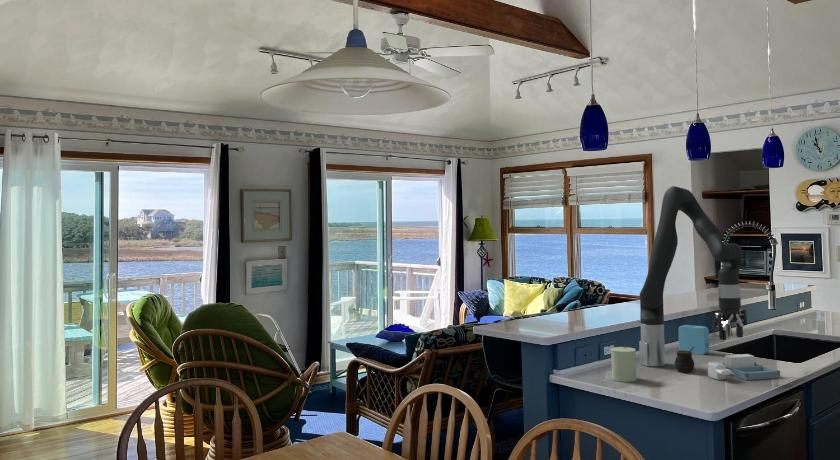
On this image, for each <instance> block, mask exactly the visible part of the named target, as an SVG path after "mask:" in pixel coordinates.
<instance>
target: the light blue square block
mask: <svg viewBox="0 0 840 460" xmlns="http://www.w3.org/2000/svg"><path fill="white" fill-rule="evenodd" d="M693 346H694V348H693ZM692 348H693V349H692ZM678 349H679V350H678V351H680V350H685V351H690V350H691V349H692V351H691V352H692V354H696V355H702V356H703V355H706V354H708V353H709V352H710V330H709V328H708V327H707V326H703V325H691V324H683V325H680V326H679V327H678Z"/></svg>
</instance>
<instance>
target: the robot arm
mask: <svg viewBox="0 0 840 460" xmlns="http://www.w3.org/2000/svg"><path fill="white" fill-rule="evenodd" d="M660 209H661V210H660V215H659V222H658V224H657V225H658V226H657V228H656V229H657V230H656V232H655V237H654V240H653V243H652V248H651V249H650V250H651V252H650V256H649V263H648V271H647V275H646V278H645V281H644V284H643V286H642V288H641V289H640V292H639V306H640V307H639V308H640V309H639V310H640V314H639V317H640V320H639V321H640V340H639V342H638V345H639V346H638V348H639V349H638V350H639V364H641V365H643V366H646V367H663V366H666V347H665V345H666V344H665V315H664V314H665V313H664V311H665V310H664V291H665V285H666V281H667V276H668V274H669V272H670V270H671V267H672V264H673V261H674V258H675V256H676V251H677V247H678V244H679V243H678V240H679V239H678V232H677V227H676V226H677V224H676V221H677V216H678V213H679V211H680V212H682V213H684V214H685V215H686V216H687V217H688V218H689V219H690V220H691V222H692V225H693V227H694V230H695V231H696V234H698V236H700V238H701V239H702V240H703V241H704V242H705V243H706V246H707V248H708V250H709V252H710V254H711V256H712V258H713V259H714V260H715V261H717V262H719V263H725V265H724V267H723V268H721V269H719V270H718V273H717V274H718V275H717V276H718V289H717V290H718V291H717V292H718V308H719V309H720V312H714V314H713V315H714V316H713V319H714V320H713V322H714V323H713V326H714V329H717V330H718V335H719V340H720V341H726V340H727V330H726V329H727V327H728V326H729V325H730V324H732V323H734V326H736V327H735V331H736V332H735V333H736V337H737V338H743V336H744V327H745V326H747V325H748V319H747V309H741V308H742V301H741V288H740V286H741V285H740V275H739V274H740V270H741V267H742V266H741V265H742V261H743V255H744V253H743V250H742V247H741V246H740V245H739V244H737V243H735V242H729V243H724V242H723V241H724V238H725V236H724V233H723V232H722V230H720V228H718V226H717V225H716V224H715V223H714V222H713V221H712V220H711V218H710V217H709V216H708V215H707V214H706V212H705V211H704V210H703V208H702V207H701V205H700V203H699V201H698V200H697V199H696V197H695V195H694V194H693V192H692V191H691V190H689V189H687V188H683V187H679V186H670V187H669V188H667V189H666V191H665V193H664V195H663V197H662V202H661V208H660Z"/></svg>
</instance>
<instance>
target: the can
mask: <svg viewBox="0 0 840 460" xmlns="http://www.w3.org/2000/svg"><path fill="white" fill-rule="evenodd" d="M636 351H637V349H636V348H633V347H629V346H628V347H627V346H615V347H612V348H611V349H610V357H611V359H610V360H611V380H613V381H615V382H621V383H632V382H636V381H637V364H636V363H637V361H636V358H637V357H636Z"/></svg>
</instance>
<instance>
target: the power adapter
mask: <svg viewBox="0 0 840 460" xmlns="http://www.w3.org/2000/svg"><path fill="white" fill-rule="evenodd" d="M722 363H723V362H717V361H711V362H710V361H709V362H708V363H707V376H708V377H709V378H710V379H713V380H716V381H721V380H723V381H724V380H726V378H727V376H733V375H736V373H733V372H732V371H731V370H729V369H726V366H725V365H724V364H722ZM731 374H733V375H731Z"/></svg>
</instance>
